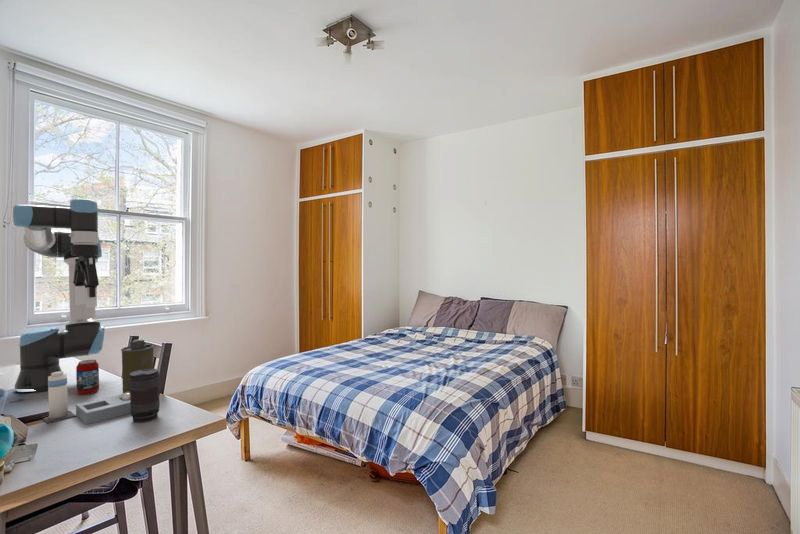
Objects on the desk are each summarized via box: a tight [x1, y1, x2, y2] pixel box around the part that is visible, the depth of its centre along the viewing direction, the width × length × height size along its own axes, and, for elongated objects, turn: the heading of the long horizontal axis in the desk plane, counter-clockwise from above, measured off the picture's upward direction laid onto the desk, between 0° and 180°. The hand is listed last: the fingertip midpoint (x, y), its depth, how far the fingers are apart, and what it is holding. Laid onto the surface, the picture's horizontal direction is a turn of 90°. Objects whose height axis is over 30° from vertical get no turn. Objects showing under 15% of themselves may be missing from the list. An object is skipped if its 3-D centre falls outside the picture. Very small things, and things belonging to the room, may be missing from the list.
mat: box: [42, 410, 77, 424], centre depth 130 cm, size 7×7×1 cm
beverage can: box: [75, 359, 100, 396], centre depth 155 cm, size 7×7×12 cm
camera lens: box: [129, 368, 161, 423], centre depth 129 cm, size 8×8×15 cm
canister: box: [120, 339, 155, 394], centre depth 154 cm, size 11×10×20 cm
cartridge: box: [47, 370, 69, 419], centre depth 130 cm, size 5×5×14 cm
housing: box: [75, 393, 131, 425], centre depth 134 cm, size 12×16×4 cm
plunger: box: [121, 392, 130, 401], centre depth 138 cm, size 4×4×4 cm
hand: (85, 305), depth 140 cm, fingers open, 13 cm apart
